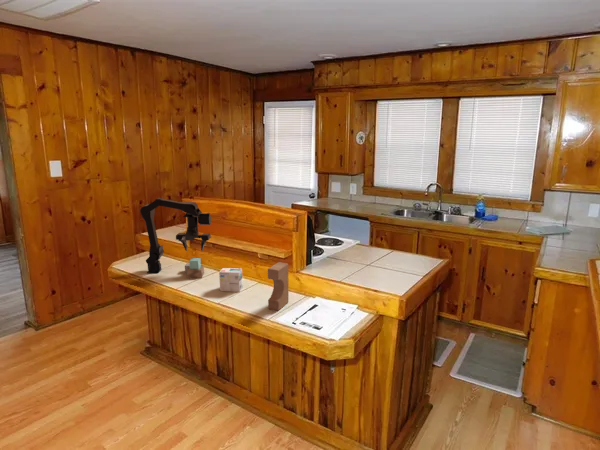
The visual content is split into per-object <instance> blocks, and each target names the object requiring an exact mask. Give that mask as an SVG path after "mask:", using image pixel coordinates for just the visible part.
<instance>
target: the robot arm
mask: <svg viewBox="0 0 600 450" xmlns="http://www.w3.org/2000/svg"><path fill="white" fill-rule="evenodd" d="M158 207H165V208H170V209H176V210H180V211H182V212H184V213H185V214H183V218H186V221H187V222H186V223H187V226H186V231H185V232H178V233H177V234H176V235H175V240H177V241H178V242H181V244H182V246H183V248H184V250H185V251H188V245H187V244H188V241H191V242H192V241H195V239H201V240H200V243H201V245H200V246H201V247H200V249H201V252H203V251H204V247H205V244H206V242H208V241H209V240H210V239H211V238H212V237H211V235H212V234H211V233H208V232H207V233H206V232H205V233H202V234H200V232H199V225H200V226H204V225H205V226H211V224H212V217H211V213H210V212H202V210H201V209H200V208H199V205H198V203H197V202H195V201H176V200H172V199H166V198H162V197H157V198H156V199H155V200H153V201H152V202H151V203H147V204H145V205H143V206H141V208H140V209H139V210H140V211H139V212H140V215H141V217H142V219H143V220H144V222H145V226H146V232H147V235H148V241H149V249H148V250H149V256H148V257H147V259H145V262H146V264H147V271H146V273H147V274H159V273H160V271H162V270H163V269H162V263H161V261H160V259H161V257H163V255H164V252H165V251H164V245H163V244H162V245H160V243H159V239H158V234H157V230H156V224H155V213H156V212H155V211H156V209H157V208H158Z"/></svg>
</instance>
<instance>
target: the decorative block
mask: <svg viewBox="0 0 600 450" xmlns="http://www.w3.org/2000/svg"><path fill="white" fill-rule="evenodd" d="M267 279H269V280H272V282H273V289H272V293H271V295H270V297H269V298H268V301H267V305H268V306H267V307H268V310H272V311H278V312H279V311H280V310H281V309H282V308H283V307H284V306H286V305H287V304H288V303H289V263H287V262H281V261H278V262H277V263H275V264H274V265H272V266H271V267H269V268H267Z"/></svg>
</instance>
